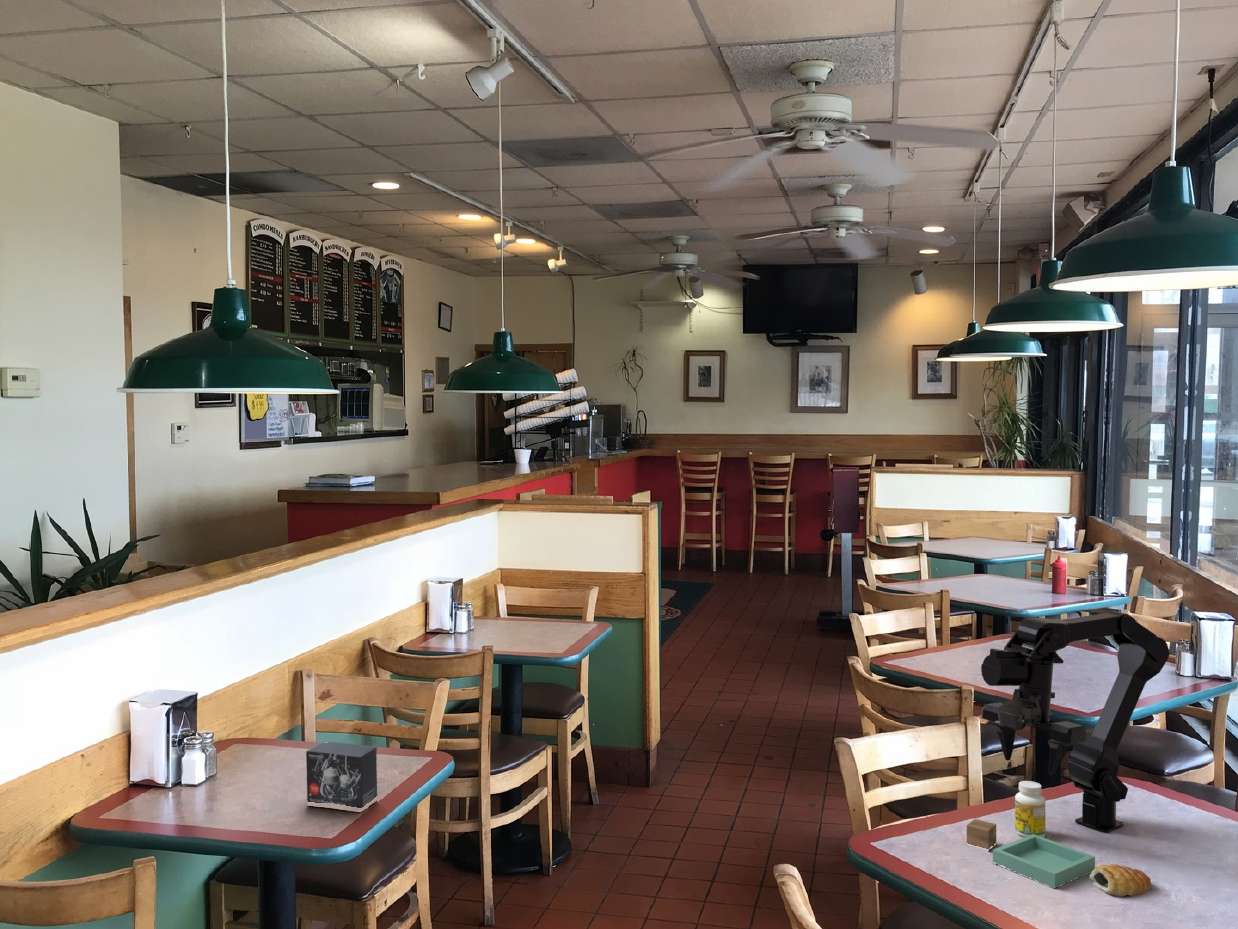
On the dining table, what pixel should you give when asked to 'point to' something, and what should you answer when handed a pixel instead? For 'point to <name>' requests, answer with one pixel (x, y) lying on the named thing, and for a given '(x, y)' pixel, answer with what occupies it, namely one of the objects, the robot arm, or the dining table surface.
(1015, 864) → the tray
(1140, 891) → the pastry
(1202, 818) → the dining table surface
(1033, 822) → the supplement bottle
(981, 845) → the walnut block
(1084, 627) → the robot arm
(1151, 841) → the dining table surface
